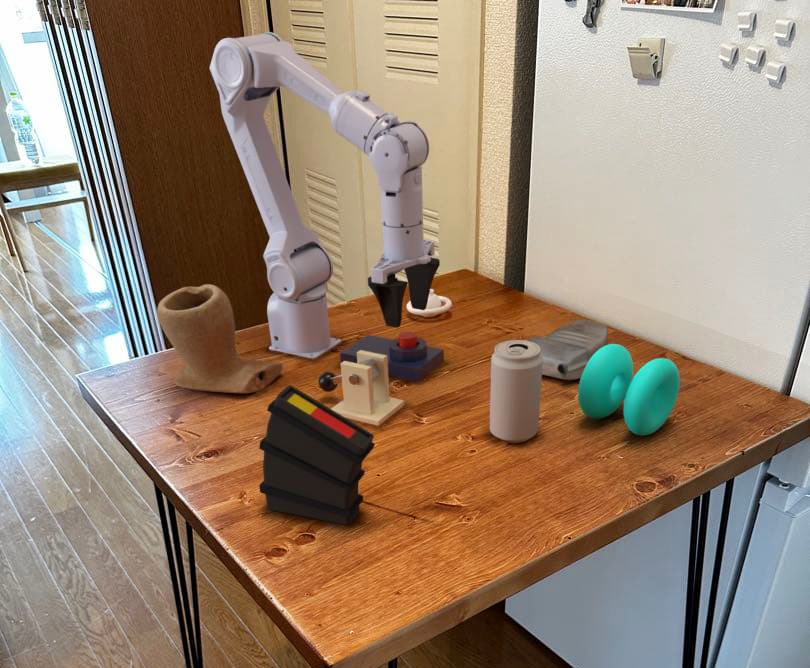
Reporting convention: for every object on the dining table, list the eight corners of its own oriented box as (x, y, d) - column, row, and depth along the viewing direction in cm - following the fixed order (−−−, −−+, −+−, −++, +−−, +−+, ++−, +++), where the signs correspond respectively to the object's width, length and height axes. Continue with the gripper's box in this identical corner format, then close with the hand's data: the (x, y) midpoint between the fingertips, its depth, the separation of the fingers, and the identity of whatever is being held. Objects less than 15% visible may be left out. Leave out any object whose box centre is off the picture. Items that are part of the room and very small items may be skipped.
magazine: (254, 478, 96) (288, 381, 86) (348, 535, 96) (393, 444, 86) (238, 495, 94) (271, 396, 84) (334, 553, 93) (379, 461, 83)
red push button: (395, 347, 122) (394, 336, 121) (404, 341, 124) (404, 330, 123) (411, 351, 121) (411, 339, 119) (420, 344, 122) (420, 333, 121)
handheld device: (626, 342, 129) (629, 314, 126) (572, 390, 116) (575, 360, 113) (571, 330, 134) (573, 303, 131) (513, 376, 121) (515, 347, 118)
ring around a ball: (443, 324, 138) (458, 308, 144) (442, 292, 134) (457, 277, 140) (400, 322, 140) (416, 306, 146) (398, 289, 137) (414, 275, 143)
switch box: (330, 415, 112) (324, 363, 108) (357, 395, 117) (353, 345, 113) (378, 427, 109) (375, 374, 104) (404, 406, 114) (402, 354, 109)
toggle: (319, 396, 114) (311, 378, 113) (331, 388, 116) (322, 371, 115) (371, 383, 108) (362, 363, 107) (382, 375, 110) (374, 356, 109)
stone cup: (158, 398, 119) (134, 299, 110) (201, 365, 128) (182, 271, 119) (248, 411, 115) (230, 308, 106) (286, 376, 123) (273, 279, 115)
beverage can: (542, 425, 108) (548, 340, 101) (532, 448, 103) (537, 360, 96) (495, 419, 109) (498, 335, 102) (484, 442, 105) (485, 355, 98)
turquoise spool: (613, 399, 113) (621, 331, 107) (677, 422, 107) (689, 351, 101) (570, 425, 107) (577, 355, 101) (635, 450, 101) (646, 377, 96)
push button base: (341, 366, 126) (338, 342, 123) (368, 348, 131) (366, 324, 129) (418, 383, 120) (417, 358, 117) (443, 363, 125) (443, 338, 123)
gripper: (400, 239, 105) (404, 338, 113) (452, 211, 115) (452, 305, 123) (355, 233, 108) (362, 330, 116) (409, 207, 118) (413, 298, 126)
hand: (406, 317), depth 119 cm, fingers open, 7 cm apart
